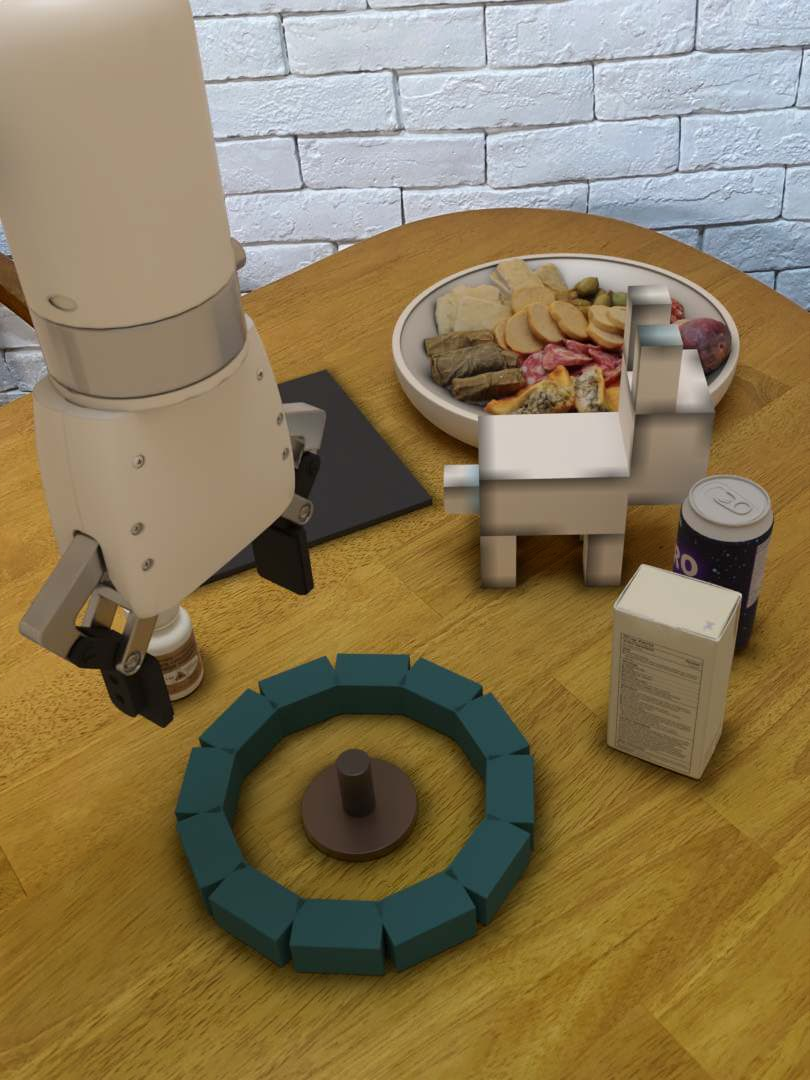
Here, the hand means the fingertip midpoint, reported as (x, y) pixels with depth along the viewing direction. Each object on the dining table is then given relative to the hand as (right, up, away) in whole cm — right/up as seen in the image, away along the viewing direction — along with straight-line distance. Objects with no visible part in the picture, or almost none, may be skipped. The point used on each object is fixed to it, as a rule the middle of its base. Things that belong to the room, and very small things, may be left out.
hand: (219, 643), depth 53 cm
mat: (-4, +10, +41) cm, 43 cm away
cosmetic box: (+25, -8, +18) cm, 32 cm away
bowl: (+23, +19, +49) cm, 58 cm away
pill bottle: (-7, -5, +25) cm, 26 cm away
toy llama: (+21, +4, +32) cm, 38 cm away
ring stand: (+6, -12, +15) cm, 20 cm away
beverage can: (+29, -2, +25) cm, 38 cm away
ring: (+6, -12, +15) cm, 20 cm away
